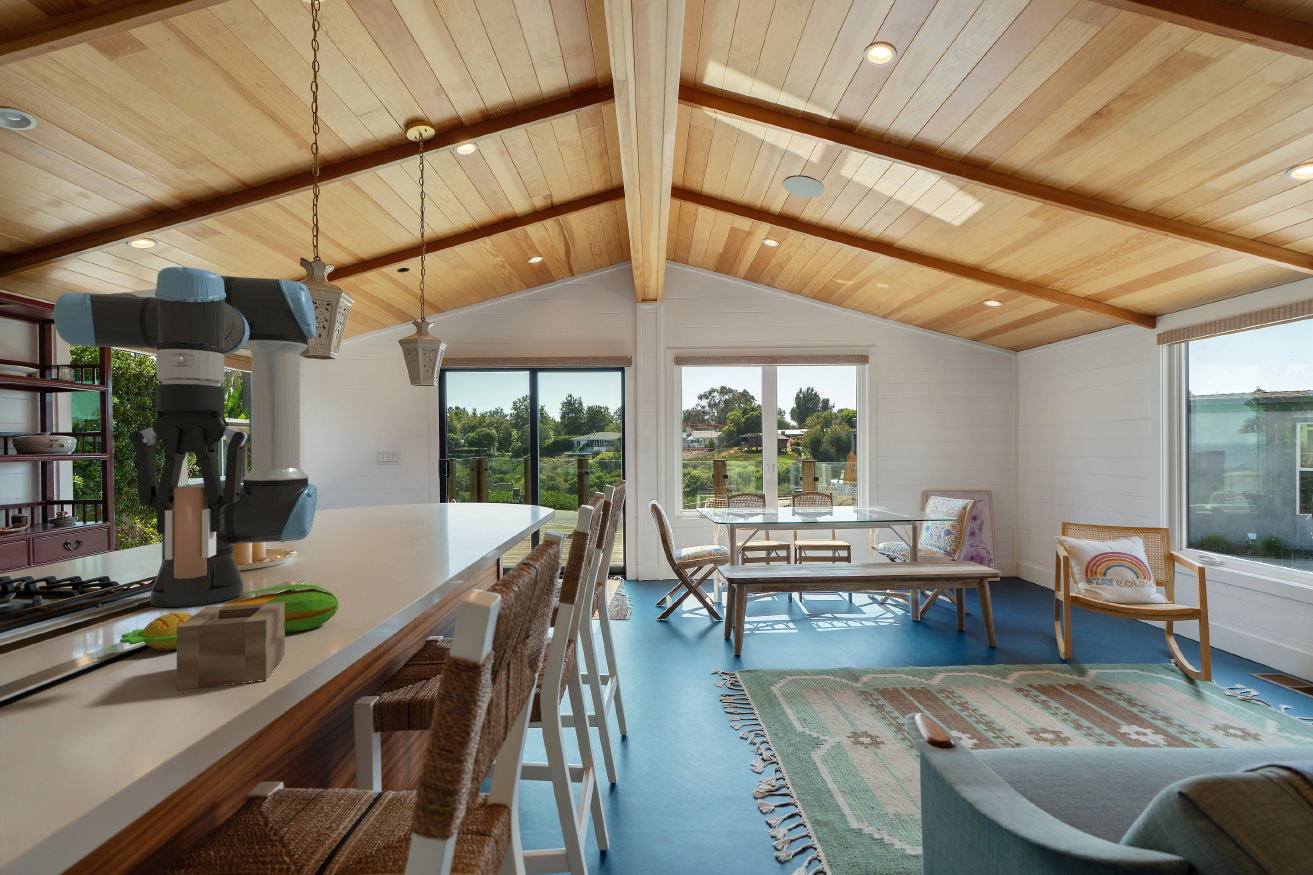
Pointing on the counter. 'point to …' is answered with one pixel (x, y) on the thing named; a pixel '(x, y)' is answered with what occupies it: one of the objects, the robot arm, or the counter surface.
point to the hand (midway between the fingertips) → (191, 556)
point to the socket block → (230, 645)
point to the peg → (189, 532)
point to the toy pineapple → (158, 632)
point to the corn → (299, 605)
